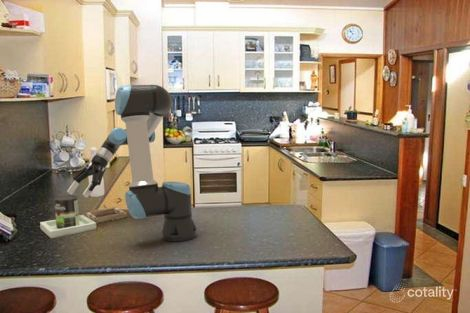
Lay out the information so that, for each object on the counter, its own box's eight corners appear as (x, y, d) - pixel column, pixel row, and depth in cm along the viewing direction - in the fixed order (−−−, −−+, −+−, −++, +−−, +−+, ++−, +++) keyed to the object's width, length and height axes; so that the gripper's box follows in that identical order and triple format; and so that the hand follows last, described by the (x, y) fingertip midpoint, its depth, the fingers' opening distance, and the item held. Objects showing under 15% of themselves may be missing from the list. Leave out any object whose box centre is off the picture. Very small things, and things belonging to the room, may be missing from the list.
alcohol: (86, 197, 281) (82, 148, 277) (95, 193, 290) (91, 146, 286) (99, 197, 279) (95, 148, 275) (107, 194, 287) (103, 146, 283)
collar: (126, 217, 229) (126, 212, 228) (96, 223, 220) (95, 218, 220) (115, 211, 241) (115, 207, 241) (86, 217, 233) (86, 212, 232)
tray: (96, 229, 210) (96, 223, 209) (51, 238, 198) (50, 231, 198) (83, 220, 226) (82, 214, 226) (40, 228, 215) (39, 222, 214)
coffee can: (67, 231, 205) (64, 200, 203) (51, 229, 210) (48, 199, 208) (85, 225, 214) (82, 196, 212) (69, 223, 219) (66, 194, 217)
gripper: (122, 164, 219) (97, 202, 209) (92, 161, 235) (68, 196, 225) (111, 155, 214) (86, 192, 205) (82, 153, 230) (57, 187, 221)
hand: (76, 194), depth 215 cm, fingers open, 13 cm apart
